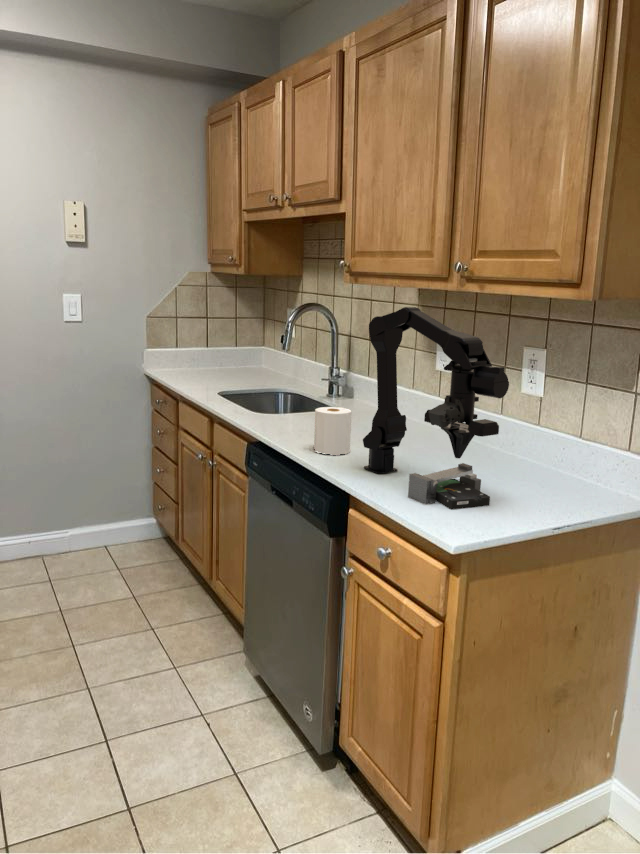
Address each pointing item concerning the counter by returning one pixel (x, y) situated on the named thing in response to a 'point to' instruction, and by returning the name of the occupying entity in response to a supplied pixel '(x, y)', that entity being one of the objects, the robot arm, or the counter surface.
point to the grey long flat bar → (451, 473)
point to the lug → (471, 481)
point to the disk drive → (460, 495)
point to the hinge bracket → (422, 488)
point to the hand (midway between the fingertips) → (457, 458)
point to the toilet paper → (332, 430)
